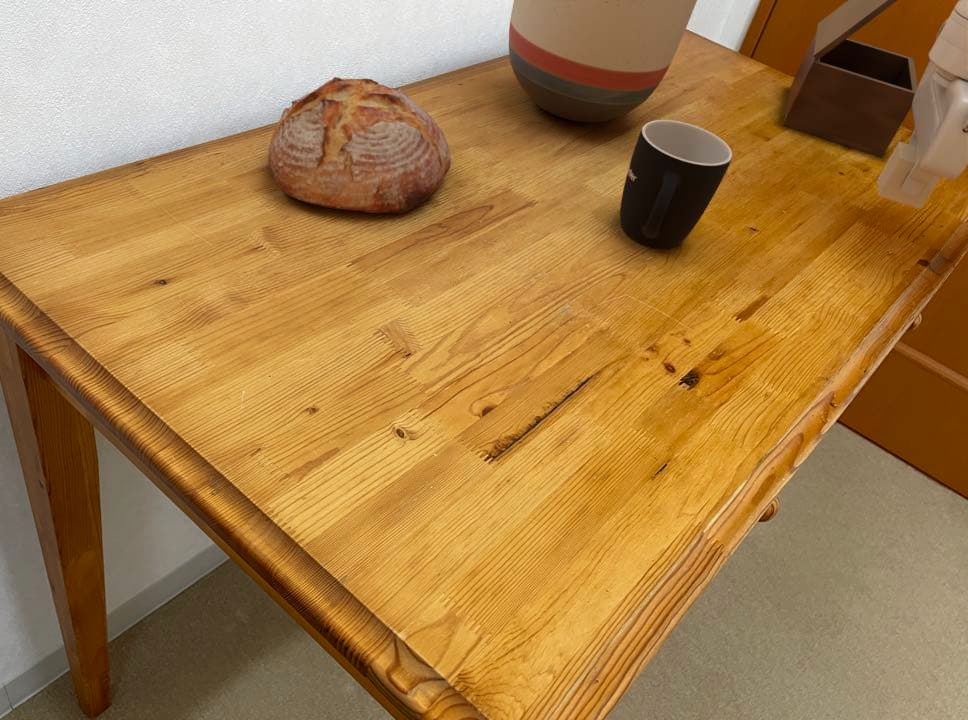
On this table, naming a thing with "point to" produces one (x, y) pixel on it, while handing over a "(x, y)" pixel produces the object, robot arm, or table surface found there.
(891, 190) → the block
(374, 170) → the bread
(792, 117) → the chest
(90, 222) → the table surface
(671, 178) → the mug
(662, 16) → the planter
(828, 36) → the lid
